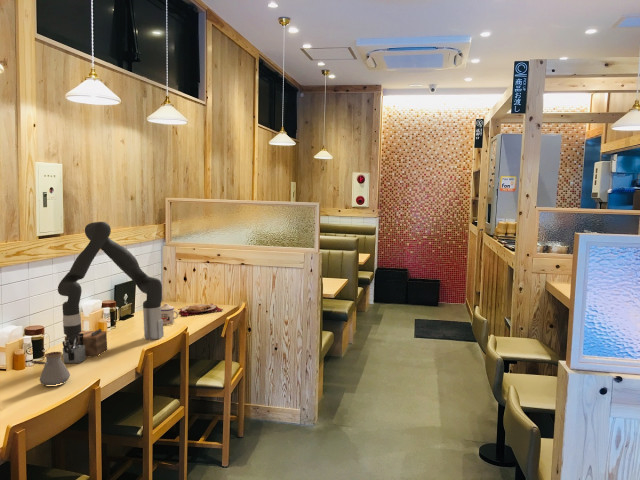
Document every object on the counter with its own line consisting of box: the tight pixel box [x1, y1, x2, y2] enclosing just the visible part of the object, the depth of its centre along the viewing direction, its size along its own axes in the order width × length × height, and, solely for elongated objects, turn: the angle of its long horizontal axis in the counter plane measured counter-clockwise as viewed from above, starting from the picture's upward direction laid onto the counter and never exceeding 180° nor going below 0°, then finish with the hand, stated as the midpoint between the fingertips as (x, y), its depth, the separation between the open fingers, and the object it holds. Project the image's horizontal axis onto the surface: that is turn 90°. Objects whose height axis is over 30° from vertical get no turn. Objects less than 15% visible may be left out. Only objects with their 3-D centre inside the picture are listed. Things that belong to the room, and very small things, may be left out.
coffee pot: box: [27, 351, 71, 386], centre depth 209 cm, size 21×12×15 cm, turn 178°
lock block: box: [62, 345, 87, 364], centre depth 240 cm, size 8×5×7 cm, turn 86°
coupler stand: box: [64, 328, 108, 357], centre depth 253 cm, size 16×10×11 cm, turn 86°
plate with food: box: [177, 303, 224, 316], centre depth 340 cm, size 25×26×4 cm
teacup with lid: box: [161, 302, 179, 325], centre depth 309 cm, size 12×9×12 cm
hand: (74, 358), depth 241 cm, fingers closed on lock block, 5 cm apart
